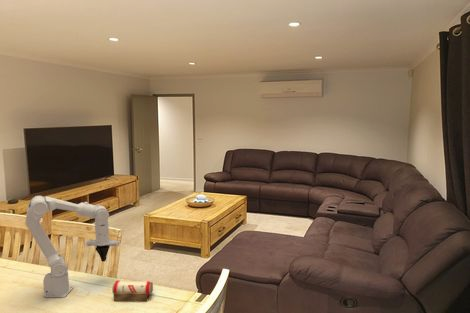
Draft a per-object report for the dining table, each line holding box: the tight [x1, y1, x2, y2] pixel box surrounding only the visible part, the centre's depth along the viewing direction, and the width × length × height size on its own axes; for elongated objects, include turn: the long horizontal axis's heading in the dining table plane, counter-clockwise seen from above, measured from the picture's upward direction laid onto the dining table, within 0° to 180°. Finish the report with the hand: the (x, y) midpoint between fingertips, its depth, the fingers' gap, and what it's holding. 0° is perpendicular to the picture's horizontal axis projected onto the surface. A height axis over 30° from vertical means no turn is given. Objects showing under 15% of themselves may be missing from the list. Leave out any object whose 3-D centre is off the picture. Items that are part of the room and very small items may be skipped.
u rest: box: [112, 292, 151, 303], centre depth 154 cm, size 14×10×4 cm
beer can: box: [112, 279, 154, 297], centre depth 153 cm, size 6×6×16 cm
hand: (103, 260), depth 164 cm, fingers closed
